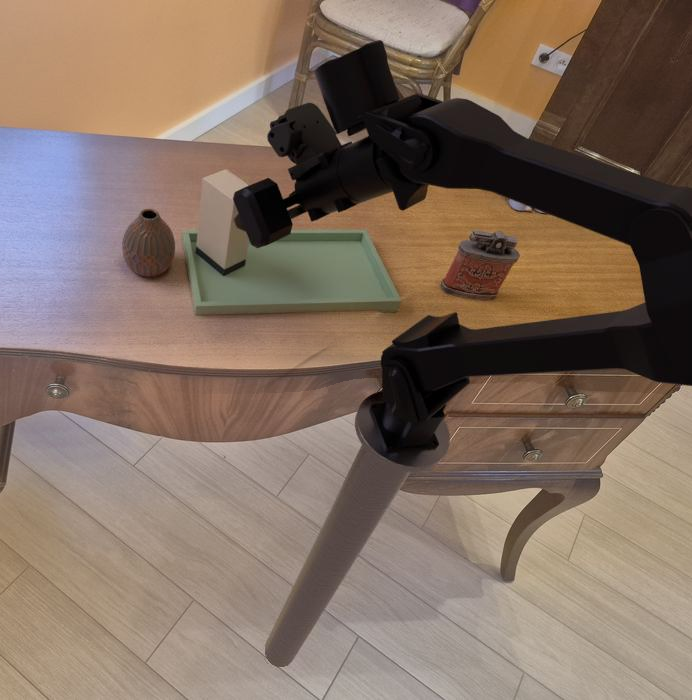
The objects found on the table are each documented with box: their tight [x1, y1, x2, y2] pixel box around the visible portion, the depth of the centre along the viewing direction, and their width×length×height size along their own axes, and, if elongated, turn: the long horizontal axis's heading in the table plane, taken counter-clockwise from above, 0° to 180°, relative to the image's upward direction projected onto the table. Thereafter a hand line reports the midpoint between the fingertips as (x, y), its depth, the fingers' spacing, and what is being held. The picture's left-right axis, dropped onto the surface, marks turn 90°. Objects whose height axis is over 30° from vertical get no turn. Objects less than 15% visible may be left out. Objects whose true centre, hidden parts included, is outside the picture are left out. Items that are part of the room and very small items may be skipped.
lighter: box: [439, 229, 520, 301], centre depth 84 cm, size 8×3×10 cm, turn 84°
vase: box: [121, 208, 176, 278], centre depth 80 cm, size 7×7×9 cm
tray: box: [181, 229, 403, 316], centre depth 85 cm, size 16×28×2 cm, turn 99°
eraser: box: [196, 169, 250, 276], centre depth 81 cm, size 6×4×12 cm, turn 41°
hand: (264, 210), depth 74 cm, fingers open, 9 cm apart
